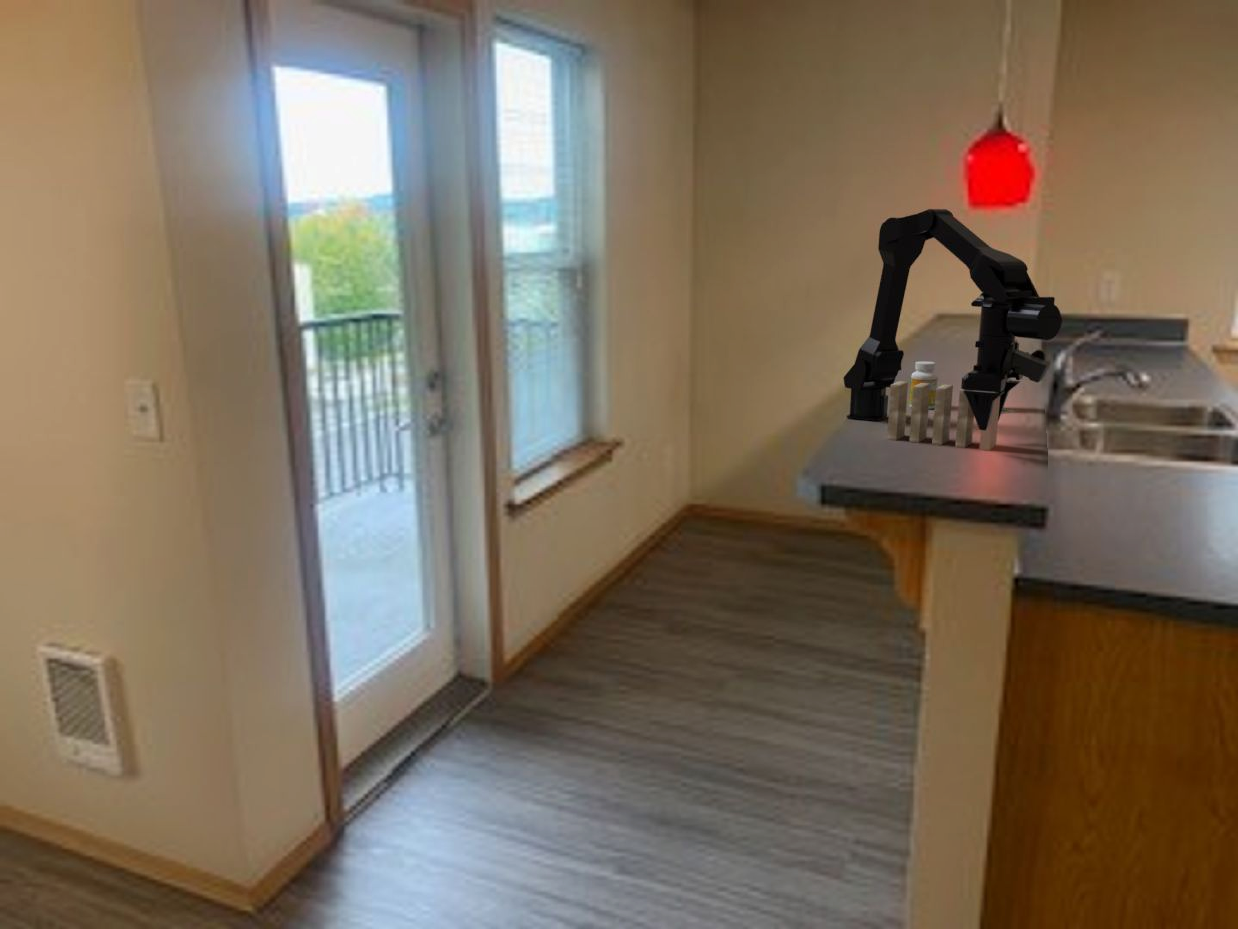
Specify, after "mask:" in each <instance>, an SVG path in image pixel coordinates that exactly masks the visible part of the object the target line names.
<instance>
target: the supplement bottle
mask: <svg viewBox="0 0 1238 929" xmlns="http://www.w3.org/2000/svg"><path fill="white" fill-rule="evenodd" d="M914 369H915V371H914V372H912V373H911V377H910V392H909V402H908V403H909V404H908V405H909V408H912V395H913V386H915V385H918V384H920V383H930V394H929V408H928V410H932V409H935V396H936V388H938V373H936V372H934V370H935V369H936V363H935V362H934V361H927V360H926V361H924V360H923V361H916V362H915V366H914Z"/></svg>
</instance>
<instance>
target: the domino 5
mask: <svg viewBox="0 0 1238 929" xmlns="http://www.w3.org/2000/svg"><path fill="white" fill-rule="evenodd" d="M999 405H1000V396H999V397H998V398H997V399H995V401H994V404H993V408H992V412H991V415H990V419H989V423H988V426H987V429H986V430H980V436H979V437H980V438H979V439H980V440H979V450H981V451H982V450H983V451H990V450H993V448H994V447H995V446H996V445H997V439H998V438H997V437H998V436H997V435H998V427H999V426H998V425H999V421H998V416H999Z"/></svg>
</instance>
